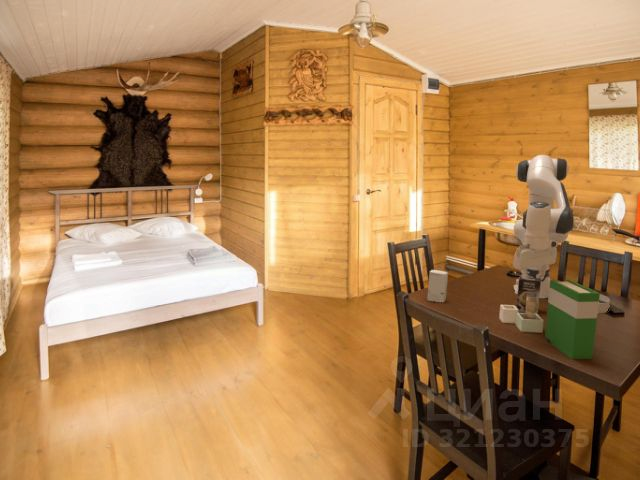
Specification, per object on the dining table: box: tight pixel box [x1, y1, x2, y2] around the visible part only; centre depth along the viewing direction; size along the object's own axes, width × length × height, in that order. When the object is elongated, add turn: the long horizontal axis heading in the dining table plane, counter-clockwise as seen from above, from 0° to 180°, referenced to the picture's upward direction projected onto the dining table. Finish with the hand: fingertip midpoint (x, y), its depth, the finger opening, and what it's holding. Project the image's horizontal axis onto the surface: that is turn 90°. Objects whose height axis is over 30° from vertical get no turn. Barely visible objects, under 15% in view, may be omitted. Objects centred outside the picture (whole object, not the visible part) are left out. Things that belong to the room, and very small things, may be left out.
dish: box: [598, 293, 611, 314], centre depth 212 cm, size 22×22×5 cm
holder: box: [515, 312, 545, 334], centre depth 181 cm, size 8×8×6 cm
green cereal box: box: [544, 279, 601, 360], centre depth 163 cm, size 18×7×24 cm, turn 3°
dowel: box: [524, 292, 537, 320], centre depth 180 cm, size 4×4×15 cm
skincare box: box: [426, 269, 449, 304], centre depth 219 cm, size 8×6×15 cm
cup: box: [498, 304, 519, 324], centre depth 190 cm, size 6×6×7 cm
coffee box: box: [515, 275, 541, 315], centre depth 202 cm, size 9×6×16 cm
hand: (533, 276), depth 178 cm, fingers open, 8 cm apart
